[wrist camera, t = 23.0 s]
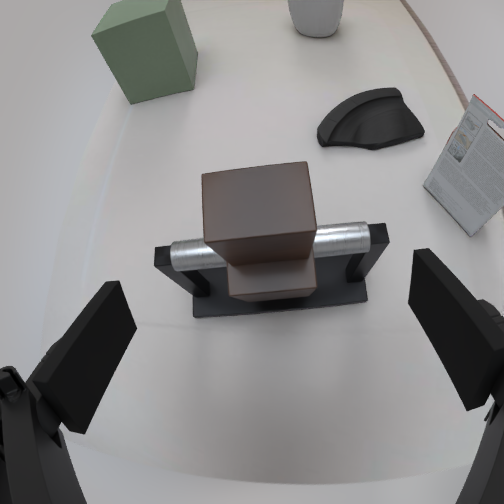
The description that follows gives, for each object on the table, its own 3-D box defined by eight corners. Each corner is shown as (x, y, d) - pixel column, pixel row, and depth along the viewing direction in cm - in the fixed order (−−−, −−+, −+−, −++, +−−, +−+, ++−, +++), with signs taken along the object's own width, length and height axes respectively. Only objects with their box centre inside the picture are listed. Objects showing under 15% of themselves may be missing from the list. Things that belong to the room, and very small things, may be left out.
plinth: (130, 104, 42) (90, 35, 29) (141, 67, 45) (111, 4, 32) (193, 89, 41) (164, 10, 28) (197, 53, 44) (175, -17, 31)
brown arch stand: (247, 302, 26) (198, 287, 12) (241, 225, 27) (193, 140, 13) (309, 296, 25) (330, 275, 12) (300, 219, 27) (308, 125, 13)
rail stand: (195, 318, 30) (144, 291, 19) (194, 267, 31) (148, 219, 21) (366, 302, 28) (402, 265, 18) (358, 251, 30) (385, 193, 20)
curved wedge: (301, 112, 37) (301, 103, 35) (393, 94, 36) (395, 85, 35) (328, 162, 34) (329, 153, 32) (425, 138, 33) (429, 130, 32)
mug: (346, 42, 41) (349, -9, 32) (290, 42, 43) (286, -10, 33) (334, 10, 46) (335, -33, 36) (287, 10, 47) (283, -33, 38)
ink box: (437, 171, 32) (486, 80, 18) (484, 220, 29) (554, 145, 15) (420, 186, 31) (470, 92, 18) (469, 239, 29) (544, 164, 15)
